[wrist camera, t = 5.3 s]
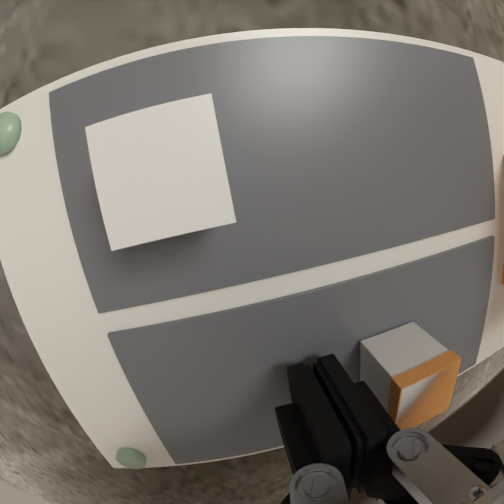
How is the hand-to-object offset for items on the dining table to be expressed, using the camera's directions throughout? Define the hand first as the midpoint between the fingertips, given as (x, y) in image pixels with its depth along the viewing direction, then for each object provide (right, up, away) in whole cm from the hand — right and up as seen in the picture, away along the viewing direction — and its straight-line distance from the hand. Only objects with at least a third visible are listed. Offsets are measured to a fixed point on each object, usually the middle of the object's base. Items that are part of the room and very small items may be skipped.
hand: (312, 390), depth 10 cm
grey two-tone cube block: (+3, +1, +1) cm, 3 cm away
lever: (-4, +7, -2) cm, 8 cm away
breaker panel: (+3, +5, +2) cm, 7 cm away
